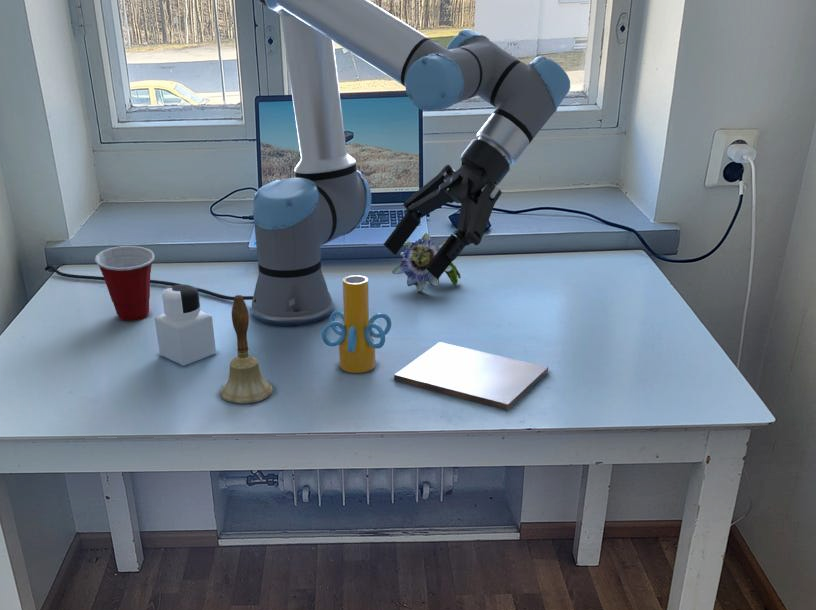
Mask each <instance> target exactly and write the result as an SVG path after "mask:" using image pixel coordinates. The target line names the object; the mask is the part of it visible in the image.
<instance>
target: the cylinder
mask: <svg viewBox="0 0 816 610" xmlns="http://www.w3.org/2000/svg"><path fill="white" fill-rule="evenodd" d="M342 300H343V301H342V302H343V311H341V310H334V311H332V312H331V313H330V315H329V322H328V323H327V324H325V325H324V327H323V328H322V329H321V330H322V331H321V341H322V342H323V343H324V344H325V345H326V346H328V347H338V360H339V361H338V363H339V367H340V369H341V370H343V371H344V372H347V373H351V374H352V373H353V374H362V373H366V372H370V371H371V370H373V369H375V366H376V350H377V349H381V348H382V347H384V345H385V343H386V335H388V333H389V332H390V330H391V328H392V320H391V317H390V316H389V315H388V314H386V313H383V312H378V313H375V314H374V315H372V316H371V317H370V313H369V311H370V308H369V307H370V306H369V305H370V304H369V278H368V277H367V276H364V275H360V274H357V275H353V274H352V275H347V276H345V277H344V278H342ZM336 316H339V317H340V318H341V319H342V321H343V323H342V322H340V321H337V320H335V318H336ZM378 319H384V320H385V322H386V326H385V328H384V329H383V328H382V327H381V326H380V325H379V324H378V323H376V322H375V321H376V320H378ZM330 329H332V331H333V332H334V333H335V334H336V335H338V336H340V337H339V338H338V339H337V340H334V341H330V340H329V339H328V337H327V334H328V331H329V330H330ZM373 329H375V330H376V331H377V332H375V331H374V330H373ZM374 338H376V339H379V343H376V342H375V339H374Z"/></svg>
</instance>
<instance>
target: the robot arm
mask: <svg viewBox="0 0 816 610" xmlns="http://www.w3.org/2000/svg"><path fill="white" fill-rule="evenodd" d="M256 1H257V2H259V3H260V4H262V5H263V6H264V7H267V8H268V9H270V10H272V11H274V12H276V13H277V14H278V15H279V16H280V20H281V26H282V34H283V42H284V48H285V55H286V63H287V70H288V76H289V77H288V78H289V85H290V90H291V97H292V104H293V112H294V119H295V127H296V133H297V140H298V147H299V152H300V153H299V154H300V160H299V161H298V163H297V164H296V166H295V168H294V176H295V177H286V178H285V177H284V178H283V179H281V180H280V179H276V180H273V181H270V182H268V183H266V184H264V185H262V186H261V187H260V188H258V189H257V191H256V192H255V194H254V196H253V212H252V218H253V223H254V234H255V235H254V236H255V244H256V245H255V246H256V256H257V257H256V258H257V267H258V268H257V269H258V274H257V275H258V276H257V280H256V283H255V287H254V292H253V295H242V296H243V299H244V301H251V313H252V316H253V317H254V318H255V319H256V320H257V321H260V322H261V323H264V324H267V325H273V326H282V327H295V326H303V325H308V324H313V323H316V322H320V321H322V320H323V319H326V318H327V317H328V316H330V315H331V314H332V313H333V298H332V295H331V293H330V291H329V287H328V285H327V282H326V280H325V277H324V274H323V271H322V257H321V255H322V253H321V246H323V245H326V244H328V243H330V242H331V241H334V240H336V239H339V238H340V237H343V236H346V235H348V234H350V233H352V232H353V231H355V229H356V228H358V227H359V226H361V225H362V224H363V223H364V221H366V219H367V217H368V216H369V213H370V210H371V207H372V191H371V187H370V184H369V182H368V179H366V178H364V177H363V173H362V172H361V171H359V170H358V168H357V167H358V166H357V161H356V159H355V158H354V157H352V156H351V155H350V154H349V153H348V151H347V145H346V136H345V128H344V118H343V110H342V102H341V94H340V86H339V76H338V67H337V61H336V54H335V53H336V52H335V43H336V44H337V45H339V46H340V47H342V48H343V49H345V50H347V51H348V52H350V53H351V54H353V55H354V56H356V57H357V58H359V59H361V60H363V61H364V62H366V63H367V64H369V66H372V67H373V68H375V69H376V70H378V71H380V72H381V73H383V74H384V75H385V76H387V77H389V78H391V79H392V80H393V81H395V82H397V83H398V84H400V85H402V86H403V87H405V93H406V95H407V96H408V98H409V100H410V102H411V103H412V105H413V106H415V107H416V108H418V109H419V110H422V111H424V112H425V111H427V112H432V111H442V110H444V109H448V108H450V107H452V106H454V105H456V104H458V103H460V102H464V101H466V100H469V99H472V98H475V97H480V99H482V100H484V101H485V102H486V103H488V104H490V105H491V106H492V107H494V108H496V109H495V110H494V111H493V112H492V114H491V115H490V116H489V117H488V119H487V120H486V122H485V123H484V124H483V125H482V127H481V128H480V129H479V131H478V132H477V133H476V138H475V139H471V141H470V143H469V144H468V145H467V147H466V148H465V150H464V151H463V152H462V153H461V155H460V161H461V164H460V167H458V168H457V169H456V170H455V169H454V168H453V167H452V166H451V165H450V164H446V165H445V166H444V167H443V168H442V169H441V170H440V172H439V173H438V174H436V175H435V176H434V177H433V178H431V179H430V180H429V181H428V182H427V183H426V184H424V185H423V186H422V187H420V188H419V189H418V190H417V191H416V192H414V193H413V194H412V195H411V196H410V197H408V198H407V199H406V200H405V201H404V202H403V204H402V205H403V207H404V208H405V214H404V216H403V217H402V218H401V219H400V221H399V223H397V225H396V227H395V228H394V230H393V231H392V232H391V233H390V234H389V236H388V238H387V239H386V240H385V242H384V243H383V246H384V247H385V248H386V249H388V250H389V251H390V252H391V253H392V254H393V255H395V256H396V255H397V254H398V252H399V251H401V249H402V248H403V247H402V246H403V245H405V244H406V243H407V242H408V239H409V238H410V237H411V235H412V234H413V233H414V232H415V230H416V229H417V227H418V226H419V225H420V223H421V219H422V218H424V217H425V216H428V215H429V214H431V213H432V212H434V211H436V210H438V209H439V208H441V207H443V206H445V205H446V204H454V202H455V203H457V204H460V209H459V216H458V220H457V221H458V222H457V228H456V230H454V231H453V233H451V234H450V235H449V237H447V239H446V240H445V241H444V242H445V243H444V244H443V246H442V247H441V248H440V250H439V251H438V252H437V254H436V255H435V256H434V257H433V259H432V260H431V261H430V263H429V264H428V265H427V267H426V268H425V269H426V270H428V271H429V272H430V273H431V274H432V275H433V276H434V277H435V278H437V279H439V280H440V278H441V277H442V275H443V274H444V273H445V272H444V271H445V270H446V268H447V267H448V266H449V265H450V263H451V262H452V263H453V262H454V261H455V260H456V259H457V258H458V257H459V255H460V254H461V252H462V251H463V250H464V249H465V247H466V246H467V247H468V246H470V245H472V244H473V245H474V246H478V245H479V244H481V242H482V240H483V237H484V234H485V231H486V229H487V226H488V223H489V220H490V219H491V214H492V213H493V209H494V207H495V205H496V203H497V201H498V200H499V199H500V197H501V195H502V190H501V189H500V188H499V187H498V185H499V184H501V182H502V180H504V179H505V177H506V176H507V174H508V173H509V172H510V170H511V165H514V164H515V163H516V162H517V161H518V159H520V157H521V155H522V154H523V153H524V151H525V150H526V149H527V147H528V146H529V145H530V144H531V142H532V141H533V140H534V139H535V138H536V136H537V135H538V134H539V132H540V131H541V130H542V129H543V127H544V126H545V124H546V123H547V122H548V121H549V120H550V118H551V117H552V116H554V114H555V113H556V112H557V111H558V108H559V106H560V105H561V104H562V102H563V101H564V99H565V97H566V96H567V95H568V93H569V92H570V90H571V80H570V77H569V75H568V74H567V72H566V71H565V70H564V68H562V66H560V64H559V63H558V62H556V61H554V60H552V59H551V58H547V57H545V56H543V55H541V56H537V57H535V58H534V59H533V60H532V61H530V62H529V63H528V64H526V63H525V62H524V61H521V60H519V59H518V58H516V57H515V56H513V55H512V54H510V53H509V52H507V51H506V50H505V49H503V48H502V47H500V46H499V45H498V44H496V43H494V42H493V41H492V40H490V39H489V38H488V36H486V35H483V34H481V33H478V32H477V31H475V30H473V29H471V28H465V29H462V30H460V31H459V32H458V33H457V34H456V35H455V36H453V38H451V41H450V42H449V43H448V45H447V46H446V47H444V46H443V45H441V44H439V43H438V42H436V41H434V40H433V39H431V38H429V37H428V36H426V35H425V34H423V33H422V32H420V31H418V30H417V29H415V28H414V27H412V26H410V24H407V23H406V22H404V21H403V20H401V19H399V18H398V17H396V16H394V15H393V14H391V13H389V11H386V10H385V9H383V7H380V6H378V5H377V4H376V3H374V2H372V1H370V0H256ZM50 269H51V270H52V271H53V272H54V273H55V274H56V275H58V276H61V277H65V278H71V279H81V280H95V281H105V279H104V276H98V275H83V274H73V273H65V272H62V271H60V270H59V269H58V268H56V267H55V266H54V265H52V264H48V265H46V266H45V267H44V271H49V270H50ZM150 284H155V285H163V286H169V287H171V286H174V285H184V284H183V283H179V282H178V283H177V282H174V281H173V282H172V281H166V280H158V279H150ZM194 287H195V286H194ZM195 288H196V289H197V290H198V293H203V294H206V295H209V296H212V297H215V298H218V299H221V300H226V301H227V300H228V301H234V297H235V296H230V295H224V294H220V293H217V292H214V291H211V290H209V289H208V290H207V289H204V288H200V287H195Z"/></svg>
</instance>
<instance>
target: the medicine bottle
mask: <svg viewBox="0 0 816 610" xmlns="http://www.w3.org/2000/svg"><path fill="white" fill-rule="evenodd" d="M196 288H197V287H196ZM196 288H195V286H193V285H190V284H183V285H174V286H169V287H167V288H165V289H164V290H163V291H162V293H161V298H162V306H163V313H161V314H160V315H156V316H155V317H154V325H155V330H156V338H157V344H158V350H159V351H158V353H159V355H160V356H162V357H164V358H166V359H168V360H170V361H172V362H174V363H177V364H178V365H181V366H183V367H185V366H188V365H190V364H193V363H195V362H198V361H200V360H203V359H205V358H208V357H211V356H213V355H215V354H216V353H217V348H216V340H215V331H214V330H215V329H214V321H213V316H212V315H211V314H209V313H206V312H204V311H202V310H201V304H200V295H199V294H200V292H198V290H197V289H196Z"/></svg>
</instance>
